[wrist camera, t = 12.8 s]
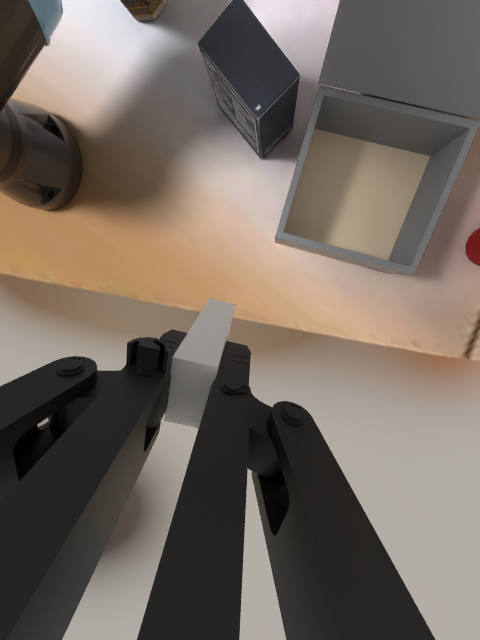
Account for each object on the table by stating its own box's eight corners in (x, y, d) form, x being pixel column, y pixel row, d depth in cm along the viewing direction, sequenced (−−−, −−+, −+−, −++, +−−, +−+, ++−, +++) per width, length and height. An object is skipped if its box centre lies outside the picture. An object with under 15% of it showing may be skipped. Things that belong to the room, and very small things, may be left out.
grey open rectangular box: (275, 242, 40) (275, 237, 32) (309, 124, 36) (319, 85, 28) (386, 272, 39) (414, 274, 31) (435, 153, 35) (481, 121, 27)
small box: (296, 127, 36) (304, 73, 26) (261, 161, 38) (257, 123, 28) (249, 66, 35) (239, -13, 25) (216, 104, 37) (194, 43, 27)
